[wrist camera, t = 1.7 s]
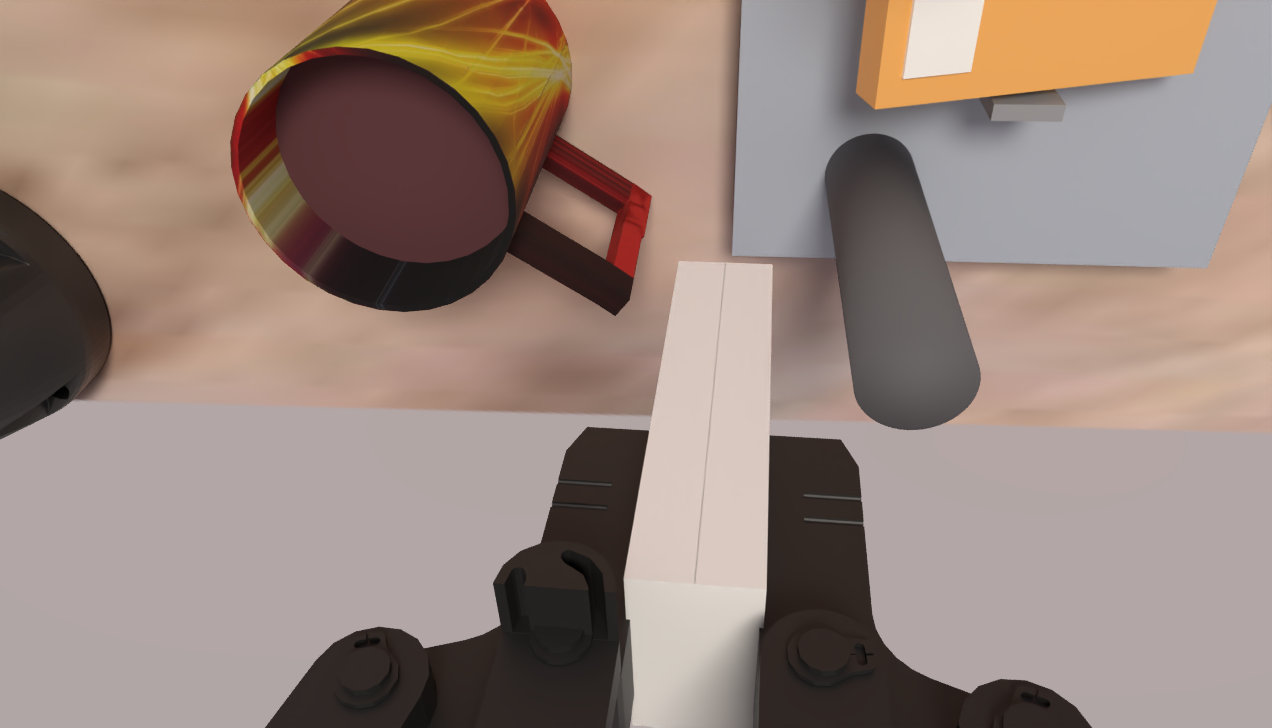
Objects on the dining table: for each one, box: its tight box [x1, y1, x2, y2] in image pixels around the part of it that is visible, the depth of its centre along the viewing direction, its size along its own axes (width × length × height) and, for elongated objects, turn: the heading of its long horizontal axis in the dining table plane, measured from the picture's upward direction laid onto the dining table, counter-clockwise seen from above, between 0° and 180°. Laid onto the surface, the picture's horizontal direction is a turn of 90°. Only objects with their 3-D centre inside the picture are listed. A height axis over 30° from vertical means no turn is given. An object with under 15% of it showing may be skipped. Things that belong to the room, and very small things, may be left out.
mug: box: [230, 0, 652, 316], centre depth 36 cm, size 10×14×12 cm
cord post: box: [825, 133, 981, 430], centre depth 33 cm, size 4×4×14 cm
